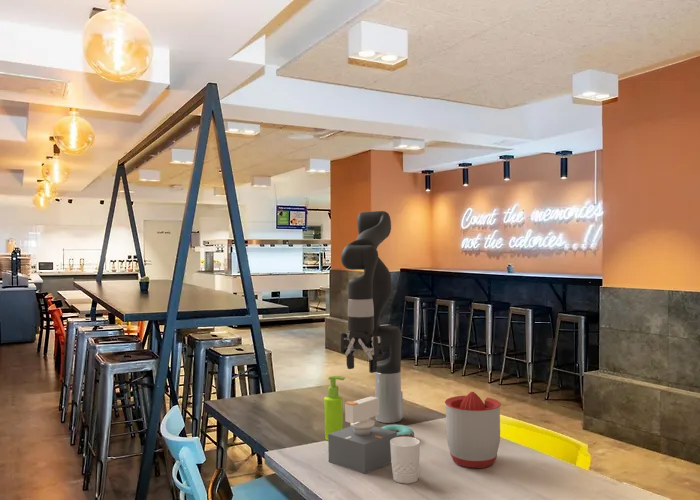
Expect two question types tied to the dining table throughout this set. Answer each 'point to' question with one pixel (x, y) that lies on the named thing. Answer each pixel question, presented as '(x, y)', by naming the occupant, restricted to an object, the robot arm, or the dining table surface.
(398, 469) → the white cup
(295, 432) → the dining table surface
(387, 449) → the box
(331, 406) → the soap dispenser
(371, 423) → the wing knob
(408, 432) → the donut
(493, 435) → the citrus juicer
